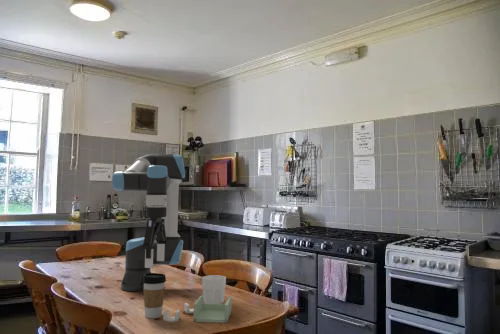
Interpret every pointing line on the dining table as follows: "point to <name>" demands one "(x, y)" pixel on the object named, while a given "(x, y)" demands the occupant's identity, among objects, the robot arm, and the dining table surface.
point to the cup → (213, 289)
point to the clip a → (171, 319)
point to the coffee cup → (153, 294)
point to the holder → (211, 311)
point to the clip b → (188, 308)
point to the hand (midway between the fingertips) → (154, 264)
